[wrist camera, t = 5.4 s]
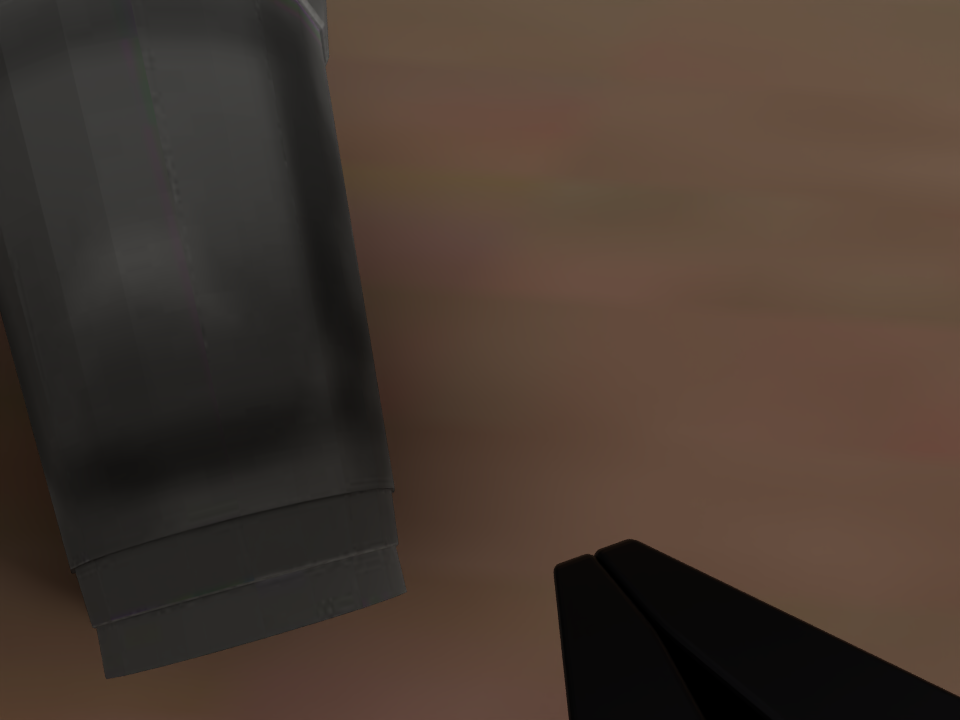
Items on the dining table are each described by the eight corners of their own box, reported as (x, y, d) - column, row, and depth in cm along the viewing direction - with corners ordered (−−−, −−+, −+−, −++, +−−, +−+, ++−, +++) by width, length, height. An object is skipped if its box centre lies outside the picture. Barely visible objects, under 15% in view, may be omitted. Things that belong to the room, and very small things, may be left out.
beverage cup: (298, 611, 18) (120, -185, 22) (584, 540, 14) (304, -428, 18) (-97, 733, 13) (-246, -374, 16) (189, 673, 8) (-102, -799, 12)
